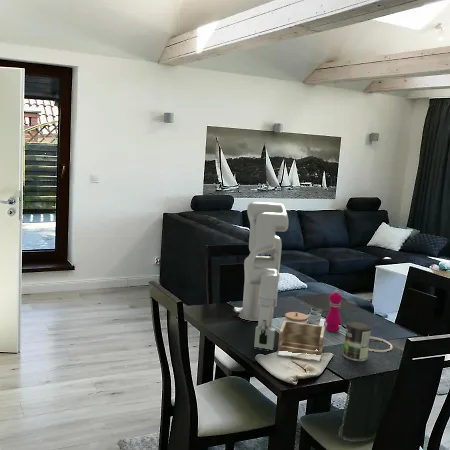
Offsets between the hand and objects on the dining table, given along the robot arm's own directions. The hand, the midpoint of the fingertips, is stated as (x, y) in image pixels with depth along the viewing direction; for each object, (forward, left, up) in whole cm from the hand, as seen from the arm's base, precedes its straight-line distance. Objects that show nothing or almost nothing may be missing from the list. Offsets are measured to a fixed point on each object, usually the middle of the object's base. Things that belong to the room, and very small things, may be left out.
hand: (264, 339), depth 236 cm
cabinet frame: (+15, +3, -4) cm, 16 cm away
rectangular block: (0, 0, -4) cm, 4 cm away
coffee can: (+38, +7, -4) cm, 39 cm away
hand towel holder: (+45, +26, -4) cm, 52 cm away
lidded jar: (+10, +27, -4) cm, 30 cm away
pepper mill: (+27, +37, -4) cm, 47 cm away
